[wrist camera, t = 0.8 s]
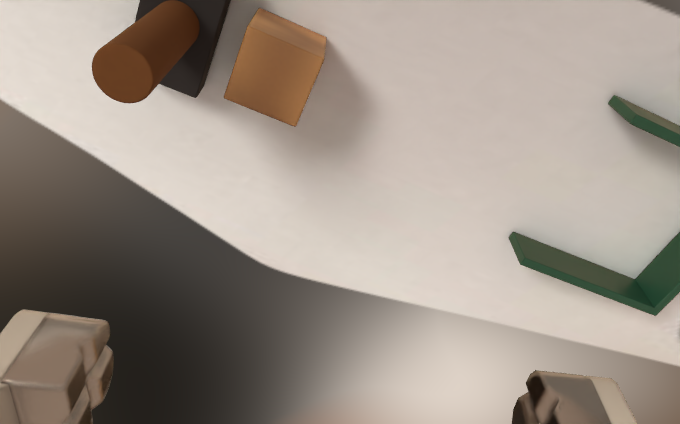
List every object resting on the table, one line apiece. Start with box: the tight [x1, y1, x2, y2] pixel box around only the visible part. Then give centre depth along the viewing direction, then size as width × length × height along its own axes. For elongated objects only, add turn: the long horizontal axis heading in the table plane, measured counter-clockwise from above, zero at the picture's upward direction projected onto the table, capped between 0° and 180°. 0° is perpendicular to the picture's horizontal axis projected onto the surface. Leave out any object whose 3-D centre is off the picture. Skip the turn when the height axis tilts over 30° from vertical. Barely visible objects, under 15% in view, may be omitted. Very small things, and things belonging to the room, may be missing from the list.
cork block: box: [224, 8, 327, 126], centre depth 29 cm, size 4×4×4 cm
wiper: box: [92, 0, 231, 103], centre depth 26 cm, size 4×7×10 cm, turn 156°
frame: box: [509, 95, 680, 316], centre depth 35 cm, size 11×11×3 cm
